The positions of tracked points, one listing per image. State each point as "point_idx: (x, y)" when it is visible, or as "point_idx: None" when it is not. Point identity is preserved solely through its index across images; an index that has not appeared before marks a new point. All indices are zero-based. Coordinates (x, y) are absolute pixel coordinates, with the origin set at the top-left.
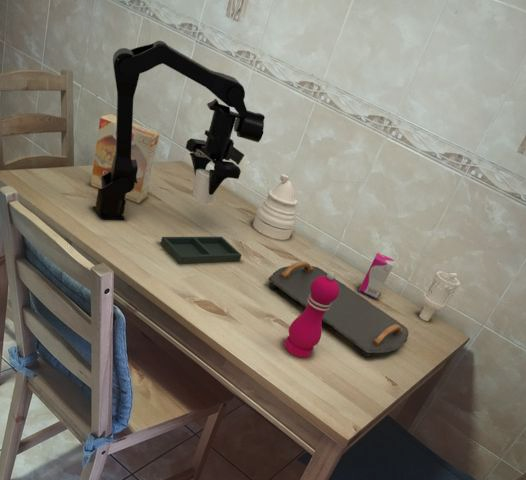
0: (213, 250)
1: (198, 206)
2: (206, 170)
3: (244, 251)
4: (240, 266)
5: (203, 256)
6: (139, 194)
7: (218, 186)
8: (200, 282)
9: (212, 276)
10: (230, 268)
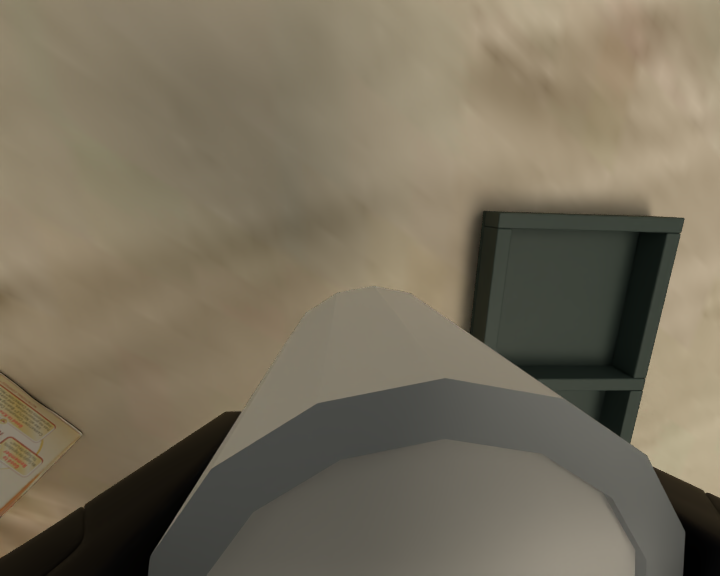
0: (547, 302)
1: (22, 46)
2: (206, 574)
3: (582, 107)
4: (683, 241)
5: (632, 427)
6: (46, 467)
7: (667, 476)
8: (704, 476)
9: (693, 415)
10: (678, 303)
